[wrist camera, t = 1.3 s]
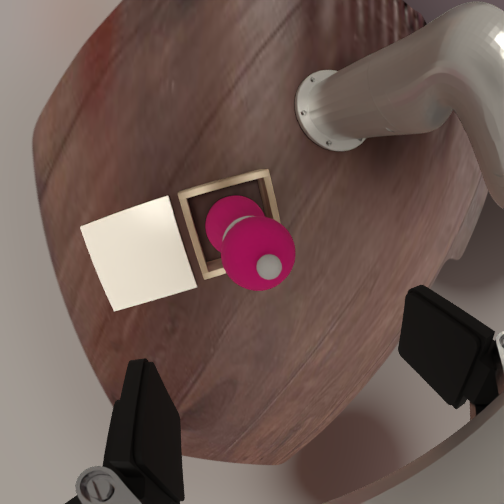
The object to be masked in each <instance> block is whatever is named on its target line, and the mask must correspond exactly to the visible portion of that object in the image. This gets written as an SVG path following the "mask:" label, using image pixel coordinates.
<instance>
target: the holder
mask: <svg viewBox="0 0 504 504" xmlns="http://www.w3.org/2000/svg"><path fill="white" fill-rule="evenodd" d="M254 179H257V182H258V186H259V190H260V194H261V198H262V203H263V207H264V211H265V215H266V217H268V218H271V219H274V220H276V221H277V222H279V223H281V222H280V217H279V213H278V208H277V204H276V199H275V195H274V190H273V186H272V182H271V177H270V173H269V169H259V170H255V171H251V172H247V173H243V174H239V175H235V176H232V177H228V178H224V179H220V180H217V181H213V182H209V183H206V184H202V185H199V186H196V187H192V188H189V189H185V190H182V191H179V192H178V197H179V200H180V204H181V207H182V211H183V214H184V217H185V221H186V224H187V227H188V231H189V234H190V237H191V240H192V244H193V247H194V250H195V253H196V256H197V259H198V263H199V266H200V269H201V272H202V275H203V278H204V280H205V279H209V278H212V277H215V276H219V275H222V274H225V273H226V271H225V269H224V267H223V264H222V260H221V258H219V259H215V260H212V261H209V262H206V259H205V256H204V253H203V249H202V246H201V243H200V240H199V236H198V233H197V230H196V226H195V223H194V220H193V216H192V213H191V209H190V206H189V202H188V199H187V198H189V197H193V196H196V195H199V194H203V193H206V192H210V191H213V190H217V189H221V188H224V187H228V186H231V185H235V184H239V183H243V182H247V181H251V180H254Z"/></svg>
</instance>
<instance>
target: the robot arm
mask: <svg viewBox="0 0 504 504" xmlns="http://www.w3.org/2000/svg"><path fill="white" fill-rule="evenodd" d="M310 80H311V81H312V82H311V81H310ZM452 110H454V111H455V112H456V114H457V115H458V117H459V119H460V121H461V123H462V125H463V128H464V130H465V131H466V133H467V135H468V138H469V140H470V143H471V145H472V148H473V150H474V153H475V156H476V158H477V161H478V164H479V167H480V170H481V172H482V175H483V178H484V181H485V184H486V186H487V189H488V191H489V193H490V195H491V197H492V198H493V199H494V201H495V202H496V203H497V204H498V205H499V206H500V207H501V208H503V209H504V11H502V10H501V9H499V8H497V7H496V6H494V5H491V4H488V3H484V2H469V3H465V4H462V5H459V6H457V7H455V8H453V9H451V10H449V11H447V12H446V13H444V14H443V15H441V16H440V17H438V18H436V19H435V20H433V21H432V22H430V23H429V24H427V25H426V26H424V27H423V28H421V29H419V30H418V31H416V32H414V33H413V34H411V35H409V36H407V37H405V38H403V39H401V40H399V41H397V42H395V43H393V44H391V45H389V46H387V47H385V48H383V49H381V50H379V51H376V52H374V53H372V54H370V55H368V56H366V57H364V58H362V59H360V60H358V61H357V62H355V63H353V64H351V65H349V66H347V67H345V68H343V69H341V70H340V71H335V70H321V71H318V72H315V73H313V74H311V75H310V76H308V77H307V78H306V79H305V80H303V82H302V83H301V84H300V86H299V88H298V90H297V92H296V97H295V112H296V117H297V119H298V122H299V124H300V126H301V128H302V129H303V131H304V133H305V134H306V135H307V136H308V137H309V138H310V139H311V140H312V141H313V142H314V143H316V144H317V145H319V146H321V147H322V148H325V149H328V150H331V151H347V150H351V149H354V148H356V147H358V146H359V145H360V144H362V143H363V142H364V140H365V139H366V138H370V137H381V136H392V135H406V134H420V133H427V132H431V131H434V130H436V129H437V128H439V127H440V126H441V125H442V124H443V123H444V122H445V121H446V120H447V119H448V117H449V116H450V114H451V112H452ZM301 113H302V114H303V115H301ZM326 142H327V144H326ZM494 333H495V331H493V330H492V329H490V328H489V327H487V326H486V325H484V324H483V323H481V322H480V321H479V320H477V319H476V318H474V317H473V316H471V315H469V314H468V313H466V312H465V311H464V310H462V309H460V308H459V307H457V306H456V305H454V304H453V303H451V302H450V301H448V300H446V299H445V298H443V297H442V296H440V295H438V294H437V293H435V292H434V291H432V290H431V289H429V288H427V287H426V286H424V285H419V286H417V287H414V288H411V289H410V290H409V291H408V294H407V295H406V298H405V306H404V314H403V321H402V328H401V335H400V341H399V347H398V351H399V354H400V356H401V357H402V358H403V359H404V360H405V361H406V362H407V363H408V364H409V365H410V366H411V367H412V368H413V369H414V370H415V371H416V372H417V373H418V374H419V375H420V376H421V377H422V378H423V379H424V380H425V381H426V382H427V383H428V384H429V385H430V386H431V387H432V388H433V389H434V390H435V391H436V392H437V393H438V394H439V395H440V396H441V397H442V398H443V400H444V401H445V402H446V403H448V404H449V405H452V406H453V407H454V408H455V409H458V408H459V407H460V406H462V405H463V404H464V403H465V402H466V400H467V399H468V400H469V401H470V421H469V422H468V423H467V424H466V425H464V426H463V427H462V428H461V429H459V430H458V431H457V432H455V433H454V434H453V435H451V436H450V437H449V438H447V439H446V440H444V441H443V442H442V443H440V444H439V445H437V446H436V447H434V448H433V449H431V450H430V451H428V452H427V453H425V454H424V455H422V456H421V457H419V458H417V459H416V460H414V461H412V462H411V463H409V464H407V465H406V466H404V467H402V468H400V469H398V470H397V471H395V472H393V473H391V474H389V475H387V476H386V477H384V478H381V479H379V480H377V481H375V482H373V483H371V484H369V485H367V486H365V487H363V488H360V489H358V490H356V491H354V492H351V493H349V494H346V495H344V496H341V497H339V498H336V499H334V500H331V501H328V502H325V503H323V504H504V331H503V332H501V333H499V334H498V335H497V338H496V340H495V341H494V340H493V336H494ZM75 486H76V493H77V496H75V497H74V498H72V499H71V500H70V501H68V502H67V503H65V504H180V501H184V498H185V497H184V484H183V470H182V453H181V428H180V417H179V413H178V411H177V409H176V407H175V406H174V404H173V402H172V400H171V398H170V396H169V394H168V392H167V390H166V388H165V386H164V384H163V382H162V380H161V377H160V375H159V373H158V371H157V369H156V367H155V365H154V363H153V362H148V360H147V359H138V360H130V361H129V363H128V367H127V371H126V375H125V380H124V384H123V389H122V393H121V398H120V400H117V401H116V402H115V404H114V408H113V412H112V417H111V422H110V427H109V432H108V437H107V443H106V449H105V454H104V461H103V467H101V466H95V467H90V468H88V469H86V470H85V471H83V472H82V473H81V474H80V476H79V477H78V479H77V481H76V485H75Z"/></svg>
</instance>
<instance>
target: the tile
mask: <svg viewBox="0 0 504 504" xmlns="http://www.w3.org/2000/svg"><path fill="white" fill-rule="evenodd" d="M80 228H81V231H82V234H83V237H84V240H85V243H86V245H87V248H88V251H89V254H90V256H91V259H92V261H93V264H94V266H95V269H96V271H97V274H98V276H99V279H100V281H101V283H102V286H103V288H104V290H105V293H106V295H107V297H108V299H109V301H110V304H111V306H112V308H113V310H114V311H118V310H121V309H125V308H128V307H132V306H135V305H139V304H142V303H145V302H149V301H152V300H156V299H159V298H163V297H166V296H169V295H173V294H176V293H180V292H183V291H186V290H190V289H193V288H196V287H197V283H196V280H195V277H194V274H193V272H192V269H191V266H190V263H189V260H188V257H187V253H186V250H185V247H184V244H183V241H182V238H181V235H180V232H179V228H178V225H177V222H176V219H175V215H174V212H173V209H172V205H171V202H170V198H169V195H167V196H164V197H161V198H158V199H155V200H152V201H149V202H146V203H143V204H140V205H137V206H134V207H131V208H128V209H125V210H123V211H120V212H117V213H114V214H111V215H109V216H106V217H103V218H101V219H98V220H95V221H93V222H90V223H88V224H85V225H83V226H81V227H80Z"/></svg>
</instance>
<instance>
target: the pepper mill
mask: <svg viewBox="0 0 504 504" xmlns="http://www.w3.org/2000/svg"><path fill="white" fill-rule="evenodd" d="M205 229H206V234H207V237H208V239H209V241H210V243H211V244H212V245H213V247H215V248H216V249H217V250H218V251H219V252H221V260H222V264H223V267H224V269H225V271H226V273H227V274H228V276H229V277H230V278H231V279H232V280H233V281H234V282H235V283H236V284H238V285H239V286H241V287H243V288H246V289H249V290H254V291H263V290H267V289H271V288H273V287H275V286H277V285H278V284H280V283H281V282H282V281H283V280H284V279H285V278H286V277H287V276H288V275H289V273H290V271H291V270H292V267H293V265H294V262H295V245H294V242H293V239H292V237H291V235H290V233H289V232H288V231H287V229H286V228H285V227H284V226H283V225H282V224H281V223H279V222H277V221H276V220H274V219H271V218H268V217H265V215H264V213H263V211H262V210H261V208H260V207H259V206H258V205H257V204H256V203H255V202H254V201H252V200H251V199H249V198H247V197H244V196H238V195H235V196H228V197H224V198H222V199H220V200H218V201H217V202H216V203H215V204H214V205H213V206H212V207H211V209H210V211H209V213H208V215H207V218H206V223H205Z"/></svg>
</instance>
